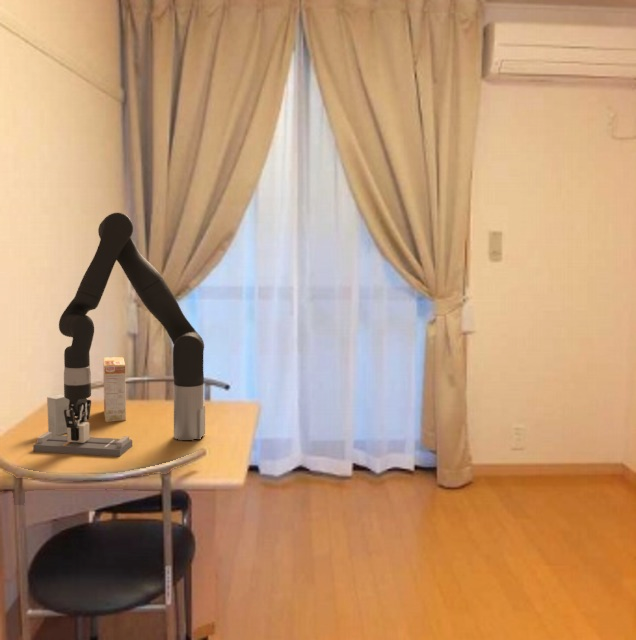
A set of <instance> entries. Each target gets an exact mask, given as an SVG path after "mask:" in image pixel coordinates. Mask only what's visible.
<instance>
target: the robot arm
mask: <svg viewBox="0 0 636 640" xmlns="http://www.w3.org/2000/svg"><path fill="white" fill-rule="evenodd" d="M133 224H134V223H133V221H132V219H131V218H130V217H129V216H128V215H127V214H125V213H122V212H112V213H111V214H110V213H109V214H108V215H107V216H105V217H104V219H103V220H102V221H101V222H100V223H99V225H98V229H97V230H98V236H99V244H98V246H97V248H96V251H95V253H94V256H93V258H92V260H91V262H90V263H89V265H88V267H87V269H86V271H85V273H84V275H83V276H82V279H81V281H80V284H79V286H78V287H77V290H76V293H75V296H74V297H73V299H72V300H71V301H70V302H69V303H68V305H67V306H66V308H65V309H64V310H63V312H62V313H61V316H60V318H59V322H58V331H59V332H60V333H61V334H62V335H63V336H65V337H68V338H72V340H71V345H69V346H66V347H65V349H64V354H63V359H64V361H63V362H64V365H63V366H64V370H63V394H64V397H65V398H66V399H69V409H68V410H64V416H65V421H66V426H67V428H71V440H72V441H78V440H79V422H80V421H81V422H88V420H90V418H91V417H90V416H91V407H92V399H89V398H90V397H92V377H91V376H92V374H91V365H90V364H91V362H90V351H91V347H92V343H93V340H94V334H95V325H94V321H93V320H92V318H91V317H90V316H89V315H87V314H88V313H89V312H90V311H94V310H96V309H97V308H98V306H99V305H100V302H101V299H102V297H103V295H104V292H105V290H106V287H107V284H108V281H109V280H110V276H111V274H112V271H113V269H114V267H115V264H116V262H118V264H119V265H120V266H121V269H122V270H123V273H124V274H125V277H126V278H127V279H128V281H129V283H130V285H131V286H132V287H133V289H134V291H135V292H136V294H137V296H138V298H139V299H140V301H141V302H142V303H143V305H144V307H146V308H147V311H149V313H151V314H152V315H153V317H154V318H155V319H156V320H157V321H158V322H159V323H160V324H161V325H162V326H163V328H164V329H165V331H166V332H167V334H168V336H169V338H170V340H171V342H172V344H173V348H172V376H173V438H174V439H176V440H177V439H178V441H182V440H192V441H194V440H193V439H200V438H201V437H202V436H203V435H204V434H205V435H206V406H205V405H204V390H205V387H204V384H205V383H204V379H205V378H204V377H205V376H204V351H205V344H204V340H203V338H202V337H201V335H200V334H199V333H198V332H197V331H196V329H195V328H194V327H193V325H192V324H191V323H190V321H189V320H188V319H187V317H186V316H185V315H184V312H183V311H182V309H181V308H180V305H179V303H178V301H177V299H176V298H175V296H174V294H173V292H172V291H171V288H170V287H169V285H168V284H167V282H166V280H165V279H164V277H163V276H162V274H161V273H160V272H159V271H158V270H157V268H156V267H155V266H154V265H153V264H152V263H150V262H149V261H148V259H147V258H145V257H144V256H143V255H142V253H141V252H140V251H139V249H138V247H137V246H136V244H135V242H134V241H133V239H132V236H133V232H134V225H133ZM69 421H70V423H69ZM205 435H204V436H205ZM204 436H203V437H204Z"/></svg>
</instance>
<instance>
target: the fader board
mask: <svg viewBox="0 0 636 640" xmlns="http://www.w3.org/2000/svg"><path fill="white" fill-rule="evenodd" d="M36 439H37V442H35V443H34V444H32V445H33V447H32V449H33V452H36V453H37V452H38V453H53V454H57V453H59V454H68V455H69V454H71V455H74V454H75V455H76V454H77V455H90V456H104V457H105V456H108V457H121V456H122V455H124V454H125V453H126V452H127V451H128V450H129V449H131V448H132V447H133V439H132V438H130V436H127V435H126V436H124V435H123V436H122V437H121V438H113V437H112V438H111V437H110V438H109V437H108V438H107V437H94V436H93V437H92V436H90V439H88V440H87V441H86V442H84V443H81V442H67V435H52V432H48V431H47V432H44V433H43V434H41V435H39V436H38V437H37V438H36Z"/></svg>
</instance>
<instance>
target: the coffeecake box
mask: <svg viewBox="0 0 636 640" xmlns="http://www.w3.org/2000/svg"><path fill="white" fill-rule="evenodd" d="M126 393H127V391H126V362H125V359H124V357H123V356H118V357H113V356H109V357H108V356H107V357H106V356H105V357H103V410H104V411H103V412H104V413H103V414H104V420H105V422H106V423H108V422H109V423H110V422H125V421H126V420H127V417H126V415H127V408H126V405H127V401H126V400H127V398H126V397H127V394H126Z"/></svg>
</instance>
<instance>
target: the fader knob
mask: <svg viewBox="0 0 636 640" xmlns="http://www.w3.org/2000/svg"><path fill="white" fill-rule="evenodd" d="M66 434H67V435H66V436H67V442H81V443H84V442H86V441H87V440H88V439H90V437H91V436H90V422H88V421H87V422H81V421H80V422H79V440H78V441H72V440H71V428H67V433H66Z"/></svg>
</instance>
